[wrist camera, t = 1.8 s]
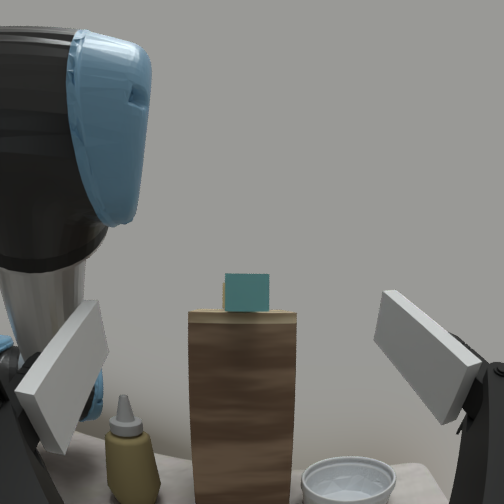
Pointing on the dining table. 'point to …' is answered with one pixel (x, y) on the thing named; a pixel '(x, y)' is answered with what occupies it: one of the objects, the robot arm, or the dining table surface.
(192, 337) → the post
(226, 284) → the peg
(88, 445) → the dining table surface
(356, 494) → the ramekin
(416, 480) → the dining table surface
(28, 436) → the robot arm
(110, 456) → the squeeze bottle
